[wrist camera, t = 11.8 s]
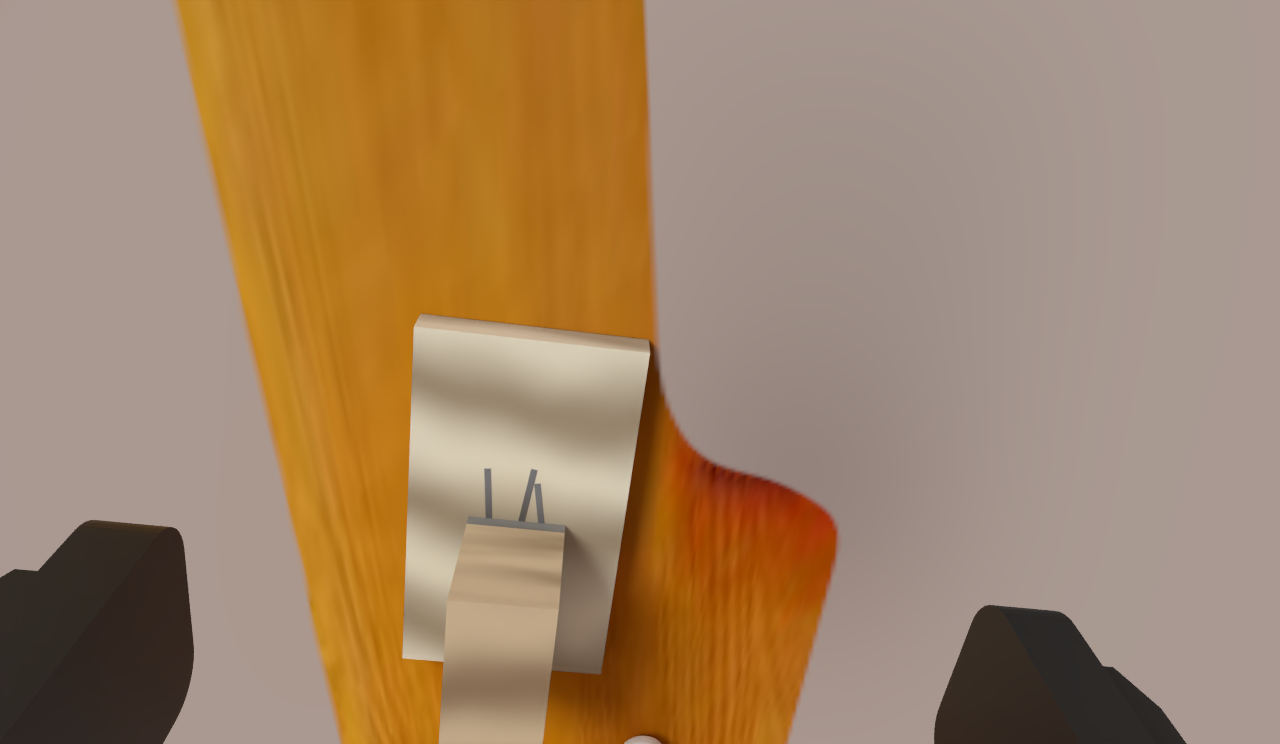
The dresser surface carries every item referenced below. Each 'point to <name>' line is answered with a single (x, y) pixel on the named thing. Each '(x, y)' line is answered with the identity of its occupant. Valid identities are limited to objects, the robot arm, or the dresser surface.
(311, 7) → the dresser surface
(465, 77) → the dresser surface
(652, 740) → the lightbulb
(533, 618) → the block
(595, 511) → the board
